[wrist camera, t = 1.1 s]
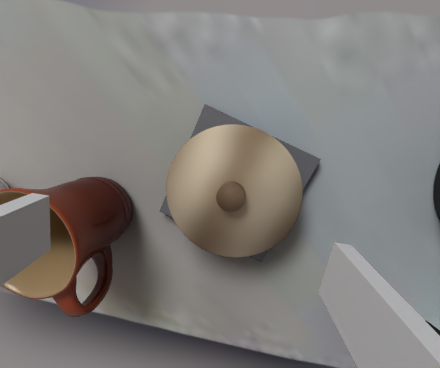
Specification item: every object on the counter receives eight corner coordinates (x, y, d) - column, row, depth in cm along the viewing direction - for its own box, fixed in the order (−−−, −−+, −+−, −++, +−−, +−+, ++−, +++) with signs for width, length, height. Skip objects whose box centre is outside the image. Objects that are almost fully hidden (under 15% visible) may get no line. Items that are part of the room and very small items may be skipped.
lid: (320, 159, 22) (335, 165, 18) (261, 261, 25) (262, 286, 21) (205, 104, 23) (193, 97, 19) (159, 211, 26) (141, 226, 22)
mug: (59, 182, 28) (-50, 210, 18) (123, 156, 26) (41, 171, 16) (103, 272, 29) (26, 343, 20) (165, 254, 28) (115, 321, 18)
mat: (317, 158, 23) (320, 159, 22) (260, 257, 26) (261, 262, 25) (207, 105, 24) (205, 104, 23) (163, 208, 27) (159, 211, 26)
